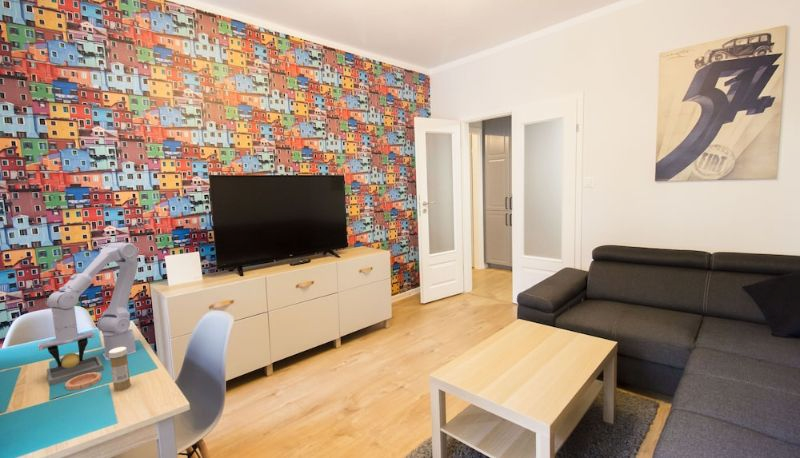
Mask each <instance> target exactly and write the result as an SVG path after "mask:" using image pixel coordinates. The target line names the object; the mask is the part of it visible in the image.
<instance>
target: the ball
mask: <svg viewBox="0 0 800 458" xmlns="http://www.w3.org/2000/svg"><path fill="white" fill-rule="evenodd" d="M79 361H80V358H79V354H77V353H73V352H71V353H67V354H65V355H64V356H62V358H60V362H61V365H62V367H64V368H73V367H75V366H76V365H77V364H78V363H79Z"/></svg>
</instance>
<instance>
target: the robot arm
mask: <svg viewBox="0 0 800 458" xmlns="http://www.w3.org/2000/svg"><path fill="white" fill-rule="evenodd" d="M138 252H139V249H138V248H137V246H135V244H133V243H132V242H115V241H113V242H108V243H107V244H106V245H105V246H104V247H103V248H101V249H100V252H99V254H98V255H96V257H95V258H94V259H93V260H92V261H91V263H90V264H89V265H88V266H87V267H86V268H85V269H84V270H83V272H80V273H75V274H73V275H71V276H70V277H69V280H68V281H67V282H66V283H65V284H64V285H63V286H61V287H59V288H58V291H54V292H52V293H51V294H50V295H48V296H49V297H48V298H47V301H46V302H45V304H46V305H47V306H48V307H49V308H50V309H51V313H52V321H53V327H54V335H55V338H54V339H51V340H47V341H44V342H41V343H38V344H37V346H38V351H39V352H40V351H43V350H46V349H47V351H48V353H49V354H50V355H51V356H52V357H53V358H54V360H55V362H56V363H57V366H58V367H61V358H60V352H59V346H63V345H66V344H71V343H76V342H77V346H78V356H79V358H80V361H83V359H84V355H85V354H84V353H85V350H86V348H87V345H88V343H89V340H88V339H94V338H96V336H95V335H96V334H95V331H94V330H92V331H87V332H81V333H79V332H78V324H77V318H76V309H75V306H76V305H77V304H78V302H79V298H80V296H81V295H82V294H83V293H84V292H85V291H86V290H87V289H88V288H89V287H90V286H91V284H93V278H94V277H95V276H96V275H97V274H99V272H101V271H102V270H103V269H104V268H105V267H106V266H107V265H108V264H110V263H113V262H115V263H116V264H117V266H119V271H118V275H117V278H116V281H115V286H114V289H113V292H112V296H111V300H110V302H109V307H108V308H106V309H105V310H104V311H103V312H102V314H101V316H100V318H99V319H98V321H97V324H96V327H97V329H98V330H99V332H101V334H102V337H103V345H104V353H103V354H102V356H103V357H104V359H105V361H110V357H109V351H110V350H112V349H114V348H118V347H126V348H127V356H128V355H131V354H134V353H137V349H136V340H135V333H134V330H133V329H132V328H130V326H131V320H130V318H131V317H130V316H131V313H130V311H129V310H128V309H127V307H128V304H129V301H130V300H129V299H130V297H131V293H132V289H133V284H134V281H135V277H136V274H137V271H138V265H139V263H138ZM129 328H130V329H129Z"/></svg>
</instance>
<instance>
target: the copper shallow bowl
mask: <svg viewBox="0 0 800 458" xmlns="http://www.w3.org/2000/svg"><path fill="white" fill-rule="evenodd" d="M102 378H103V377H102V373H101V372H93V373H86V374H82V375H79V376H76V377H74V378H72V379H70V380H68V381H65V382H64V384H65V389H66V390H68V391H77V390H83V389H85V388H88V387H91V386H94V385H95V384H97V383H99V382H100V381H101V380H102Z"/></svg>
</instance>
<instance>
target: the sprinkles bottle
mask: <svg viewBox="0 0 800 458" xmlns="http://www.w3.org/2000/svg"><path fill="white" fill-rule="evenodd" d="M109 357H110V360H109V361H110V370H111V376H112V377H111V378H112V383H113V391H114V392H116V393H117V392H123V391H125V390H128V389H130V388H131V386H132V384H131V380H130V379H131V378H130V377H131V376H130V368H129V363H128V362H129V361H128V355H127V348H126V347H118V348H114V349H112V350H110V351H109Z"/></svg>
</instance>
